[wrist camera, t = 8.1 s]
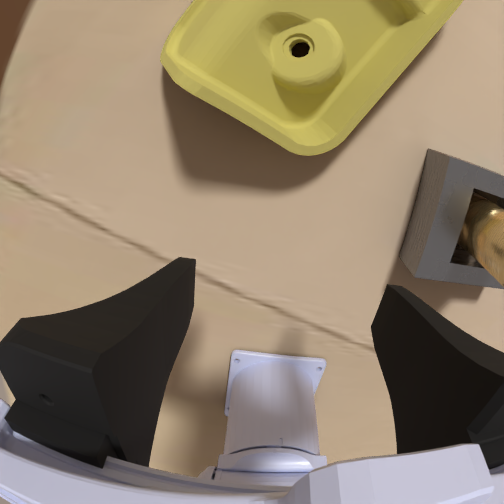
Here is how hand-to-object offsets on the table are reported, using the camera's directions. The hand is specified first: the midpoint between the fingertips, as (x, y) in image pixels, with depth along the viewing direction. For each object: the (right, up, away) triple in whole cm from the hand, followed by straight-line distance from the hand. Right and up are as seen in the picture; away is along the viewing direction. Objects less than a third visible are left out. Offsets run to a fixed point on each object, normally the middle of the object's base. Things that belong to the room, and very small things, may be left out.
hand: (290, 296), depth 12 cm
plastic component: (+3, +17, +3) cm, 18 cm away
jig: (+15, +4, +8) cm, 17 cm away
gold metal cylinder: (+15, +4, +8) cm, 17 cm away
